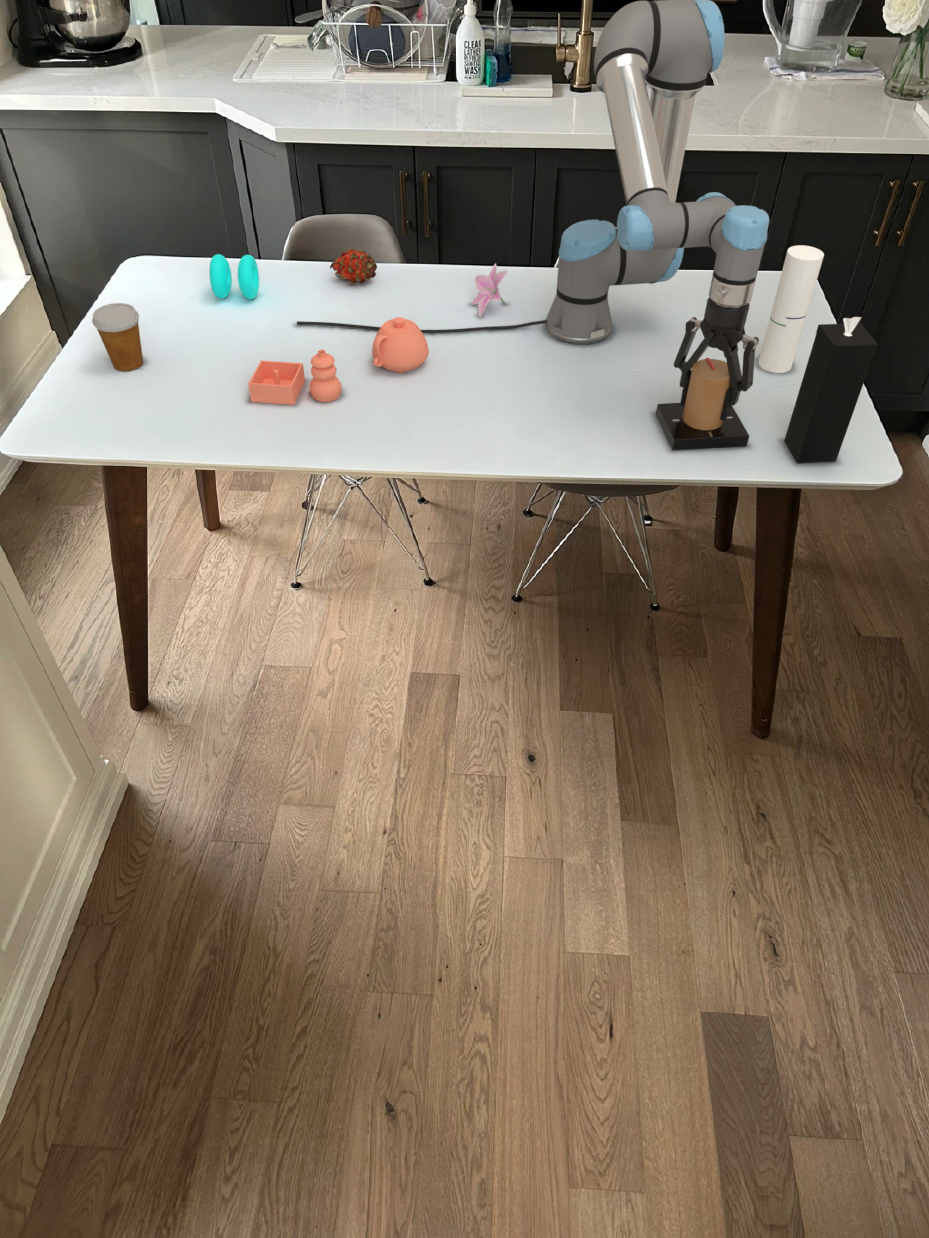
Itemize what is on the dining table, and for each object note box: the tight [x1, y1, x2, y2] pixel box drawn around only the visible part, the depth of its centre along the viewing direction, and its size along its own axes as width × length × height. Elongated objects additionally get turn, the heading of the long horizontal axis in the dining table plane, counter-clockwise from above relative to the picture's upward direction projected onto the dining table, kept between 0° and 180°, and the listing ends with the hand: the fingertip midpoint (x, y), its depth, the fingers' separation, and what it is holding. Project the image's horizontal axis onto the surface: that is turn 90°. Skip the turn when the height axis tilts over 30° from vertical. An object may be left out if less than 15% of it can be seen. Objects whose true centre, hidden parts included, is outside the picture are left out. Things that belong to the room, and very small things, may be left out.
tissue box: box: [783, 316, 879, 464], centre depth 169 cm, size 8×8×28 cm
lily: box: [471, 262, 508, 318], centre depth 218 cm, size 12×12×10 cm
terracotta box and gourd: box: [247, 349, 342, 406], centre depth 189 cm, size 18×10×10 cm, turn 83°
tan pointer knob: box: [682, 357, 731, 430], centre depth 178 cm, size 8×8×11 cm
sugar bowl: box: [371, 316, 430, 374], centre depth 198 cm, size 12×14×10 cm
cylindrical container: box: [757, 244, 825, 374], centre depth 194 cm, size 7×7×25 cm
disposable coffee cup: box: [91, 302, 144, 372], centre depth 196 cm, size 10×10×12 cm
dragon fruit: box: [329, 248, 378, 286], centre depth 228 cm, size 8×8×12 cm
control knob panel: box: [655, 402, 750, 451], centre depth 183 cm, size 15×13×3 cm
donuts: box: [209, 253, 260, 300], centre depth 220 cm, size 10×10×10 cm
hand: (704, 409), depth 181 cm, fingers closed on tan pointer knob, 8 cm apart
